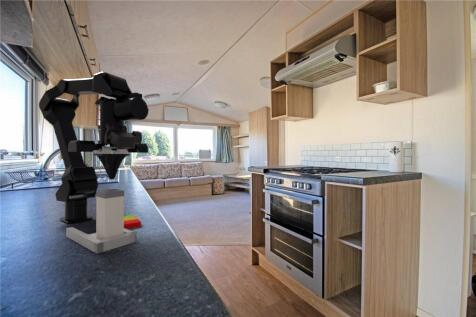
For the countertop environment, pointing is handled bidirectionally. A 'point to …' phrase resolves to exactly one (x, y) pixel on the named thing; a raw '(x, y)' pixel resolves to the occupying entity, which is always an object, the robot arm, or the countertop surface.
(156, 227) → the countertop surface
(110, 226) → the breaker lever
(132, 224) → the popsicle
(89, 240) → the frame
